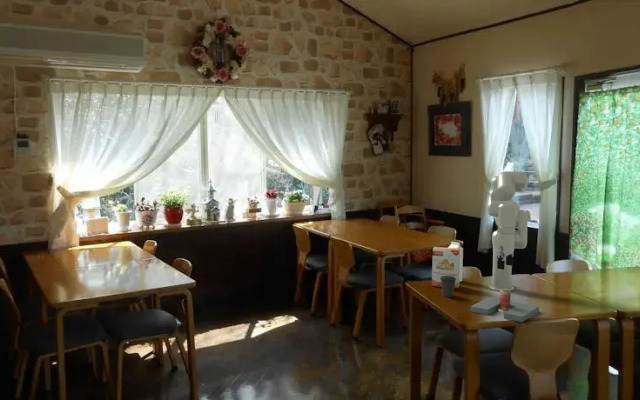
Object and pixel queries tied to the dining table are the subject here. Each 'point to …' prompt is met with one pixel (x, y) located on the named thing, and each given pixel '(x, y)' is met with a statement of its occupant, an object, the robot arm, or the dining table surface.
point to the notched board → (515, 313)
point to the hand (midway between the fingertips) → (505, 267)
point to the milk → (457, 245)
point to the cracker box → (445, 264)
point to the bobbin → (504, 300)
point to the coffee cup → (447, 285)
